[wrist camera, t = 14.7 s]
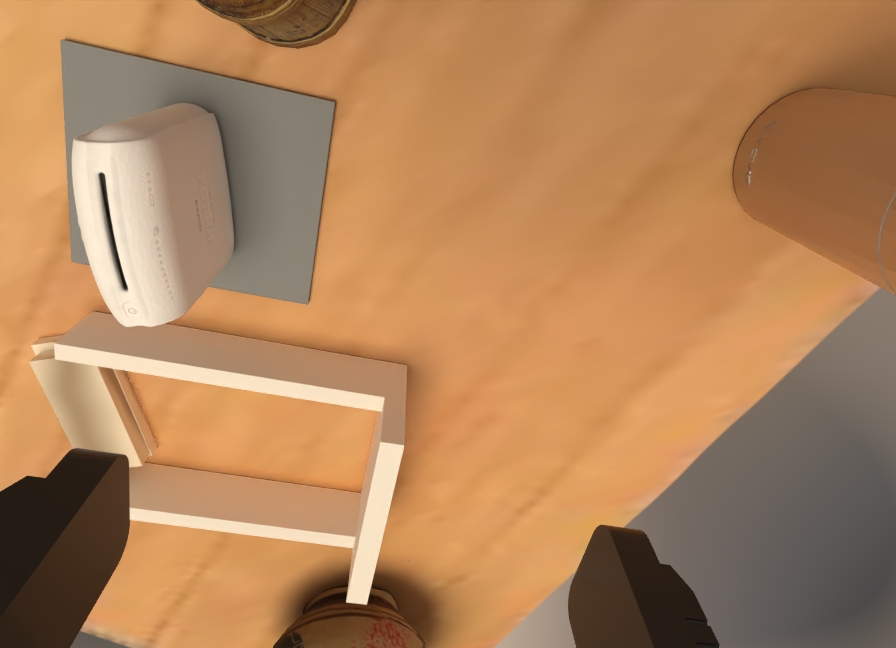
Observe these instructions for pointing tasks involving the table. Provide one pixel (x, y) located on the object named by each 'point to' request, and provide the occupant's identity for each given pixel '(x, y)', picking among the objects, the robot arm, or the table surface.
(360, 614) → the ceramic jug
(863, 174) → the robot arm
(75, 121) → the mat
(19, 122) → the table surface
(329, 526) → the rack
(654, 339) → the table surface
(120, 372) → the offcut stack
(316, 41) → the wooden mug
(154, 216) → the photo printer
